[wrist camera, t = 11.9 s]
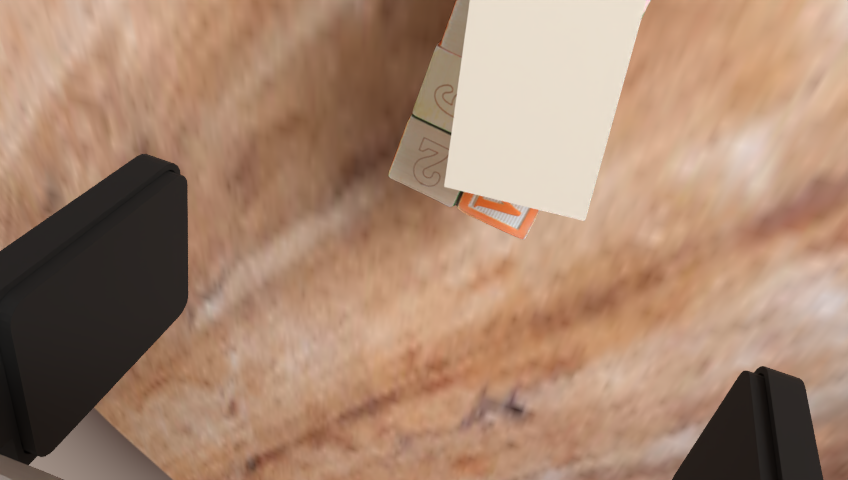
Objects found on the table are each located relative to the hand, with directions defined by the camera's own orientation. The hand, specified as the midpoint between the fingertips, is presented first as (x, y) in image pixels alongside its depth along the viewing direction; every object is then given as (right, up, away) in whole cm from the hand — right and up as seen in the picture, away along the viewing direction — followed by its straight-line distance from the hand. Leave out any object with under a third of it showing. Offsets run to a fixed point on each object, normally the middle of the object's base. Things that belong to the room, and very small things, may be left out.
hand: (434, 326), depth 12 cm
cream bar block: (+5, +9, +12) cm, 16 cm away
